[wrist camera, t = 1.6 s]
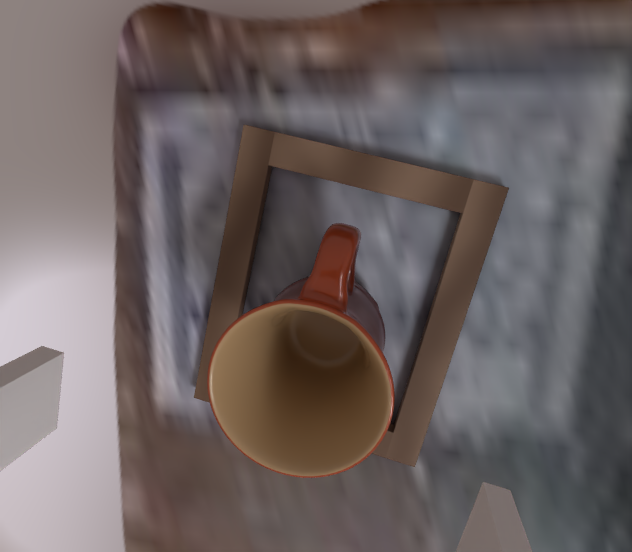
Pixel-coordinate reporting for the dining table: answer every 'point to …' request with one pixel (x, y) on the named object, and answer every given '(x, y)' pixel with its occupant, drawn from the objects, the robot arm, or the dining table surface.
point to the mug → (307, 371)
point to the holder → (383, 177)
